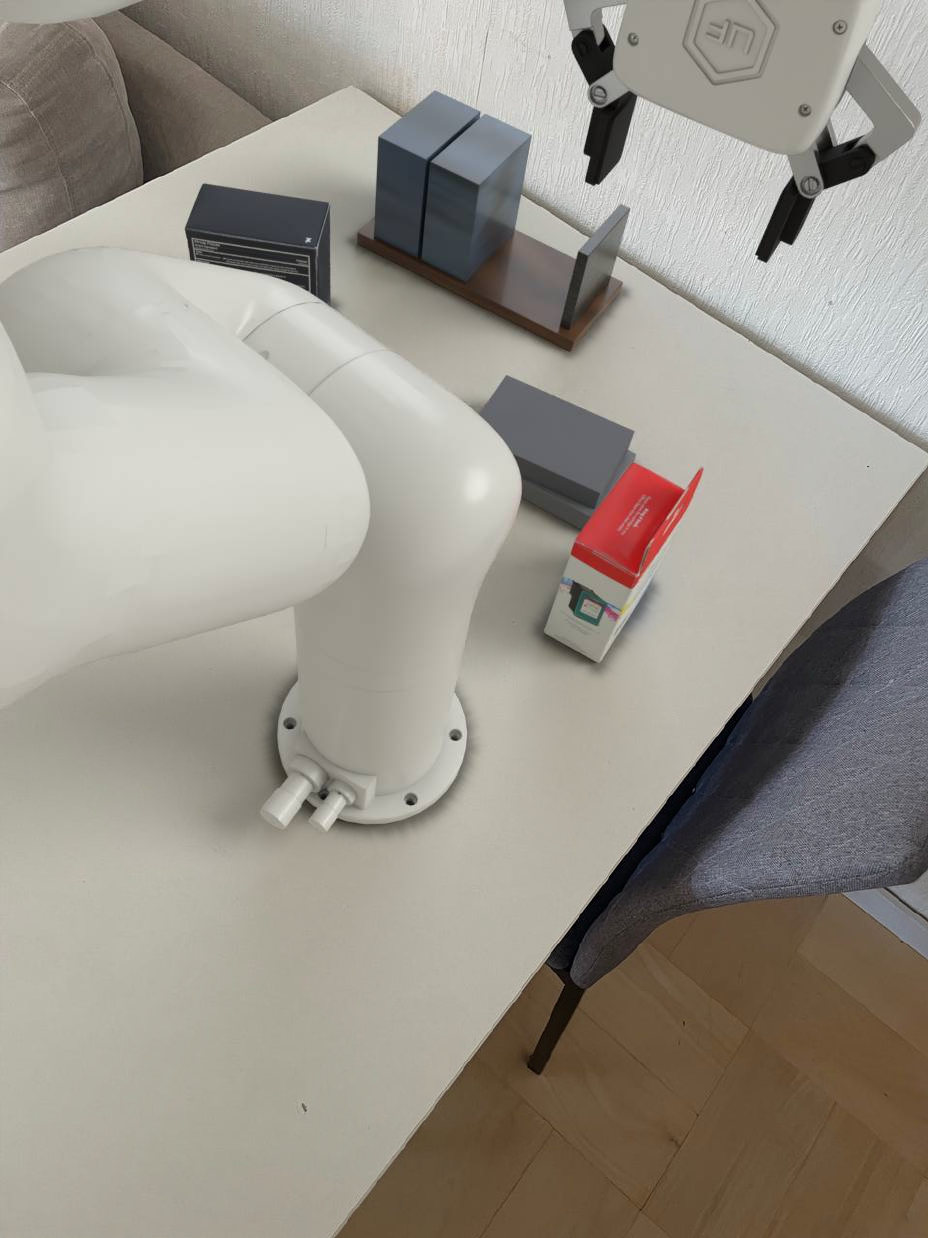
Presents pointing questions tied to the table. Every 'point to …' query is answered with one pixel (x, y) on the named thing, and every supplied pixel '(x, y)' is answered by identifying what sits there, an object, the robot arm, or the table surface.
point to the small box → (263, 235)
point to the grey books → (559, 449)
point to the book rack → (483, 222)
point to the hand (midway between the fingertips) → (684, 208)
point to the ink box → (616, 559)
